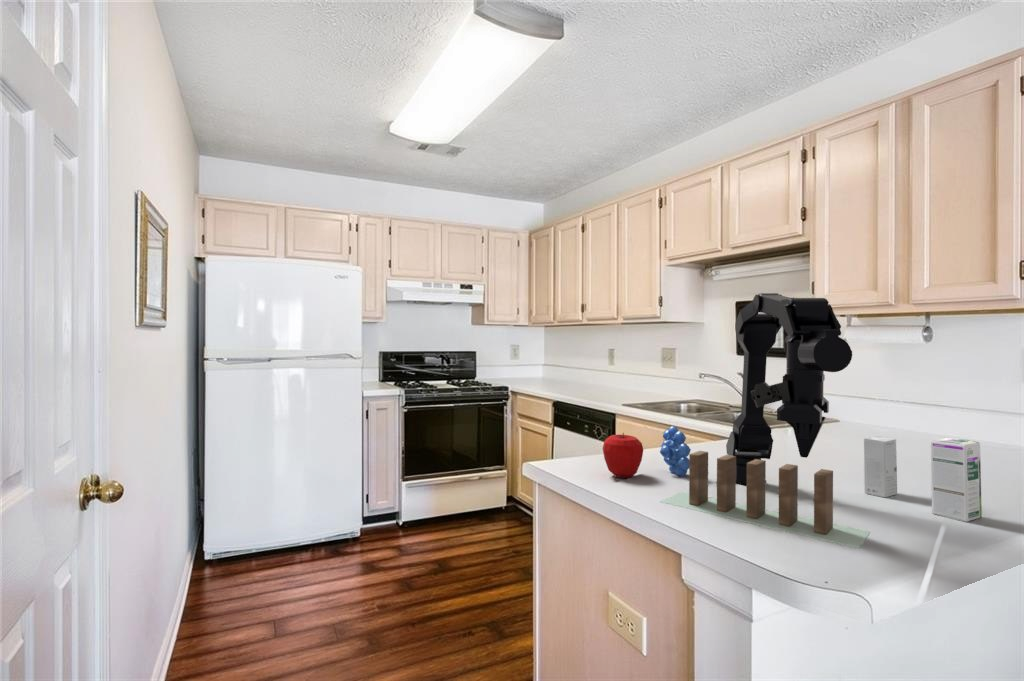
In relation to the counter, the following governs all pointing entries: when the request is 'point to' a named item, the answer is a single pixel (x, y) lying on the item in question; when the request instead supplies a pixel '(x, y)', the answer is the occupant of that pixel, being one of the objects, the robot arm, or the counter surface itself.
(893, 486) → the skincare box
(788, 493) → the domino
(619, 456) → the apple
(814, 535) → the board
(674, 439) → the grapes
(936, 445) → the syrup box
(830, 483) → the domino
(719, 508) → the domino
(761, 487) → the domino
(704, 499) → the domino
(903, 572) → the counter surface
